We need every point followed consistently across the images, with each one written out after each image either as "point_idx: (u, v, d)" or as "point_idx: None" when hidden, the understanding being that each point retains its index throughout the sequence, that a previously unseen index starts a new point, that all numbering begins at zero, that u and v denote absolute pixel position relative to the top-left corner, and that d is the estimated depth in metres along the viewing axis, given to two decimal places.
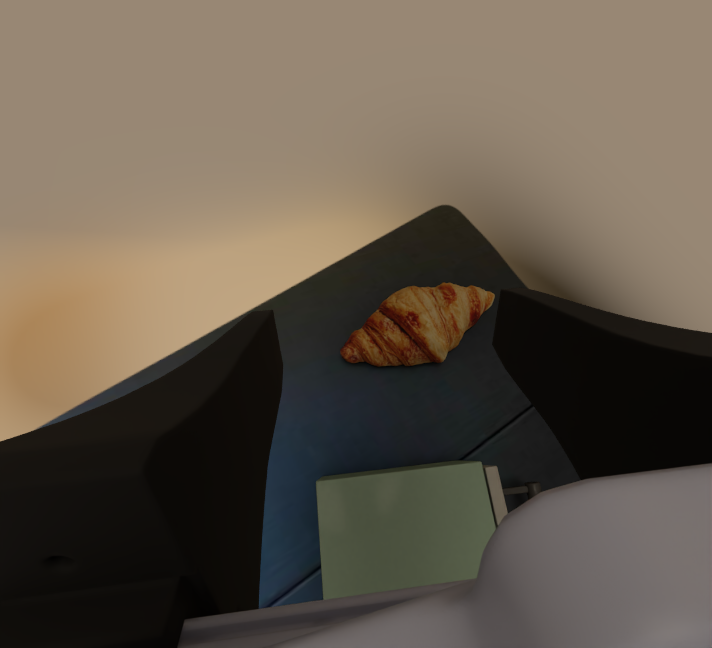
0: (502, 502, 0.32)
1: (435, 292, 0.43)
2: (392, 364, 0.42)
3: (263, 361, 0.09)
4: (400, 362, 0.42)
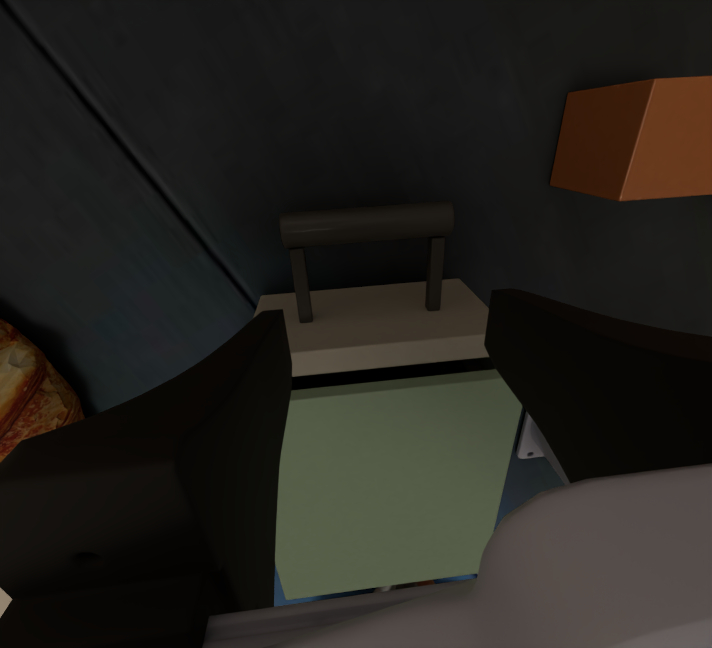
0: (318, 356, 0.14)
1: None
2: None
3: (275, 361, 0.09)
4: None
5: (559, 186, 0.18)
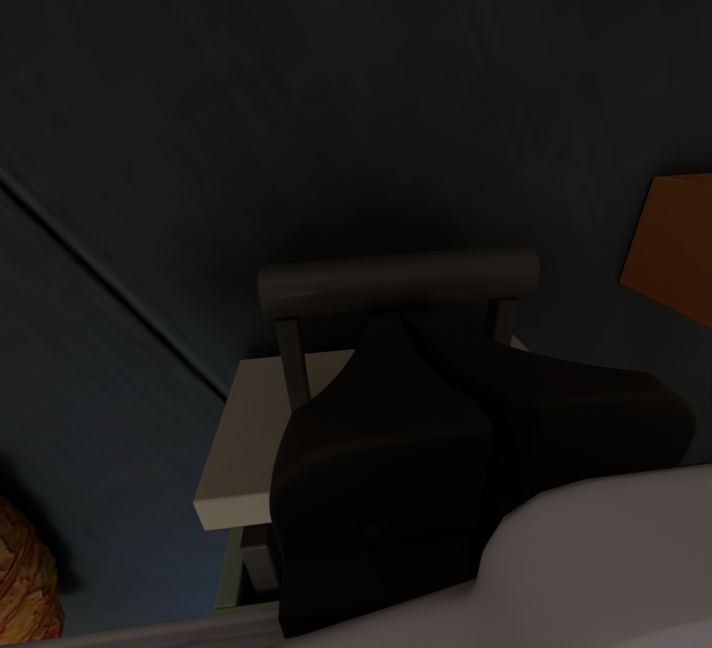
0: None
1: None
2: (33, 579, 0.17)
3: None
4: (19, 571, 0.17)
5: (635, 289, 0.14)
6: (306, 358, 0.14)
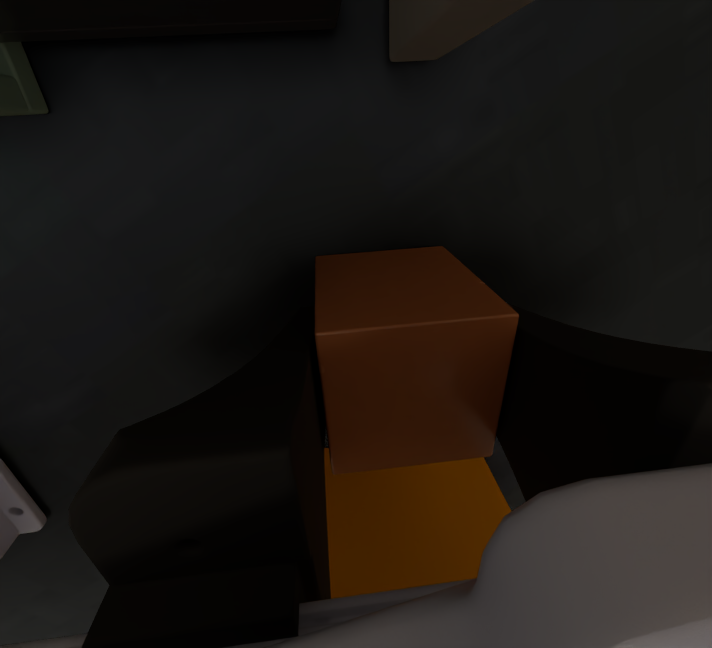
0: None
1: None
2: None
3: None
4: None
5: (317, 265, 0.10)
6: None
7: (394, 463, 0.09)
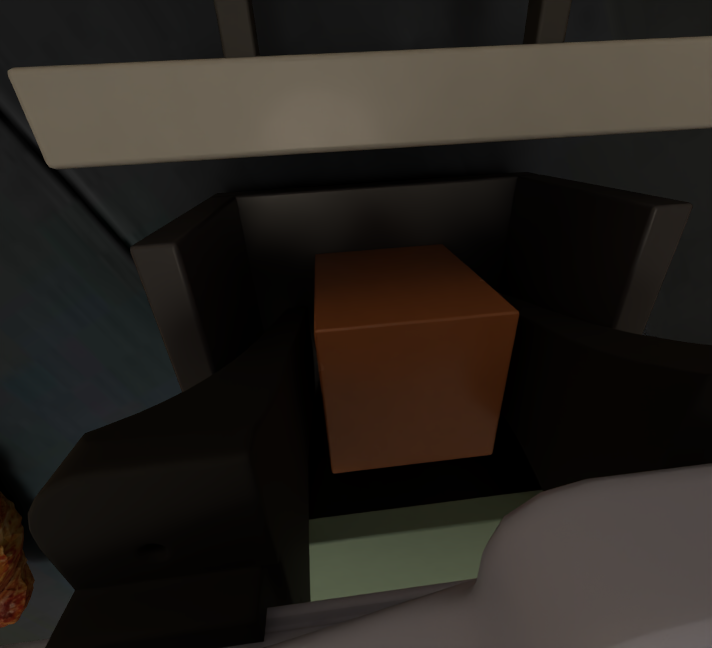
0: (254, 81, 0.05)
1: None
2: None
3: (303, 358, 0.09)
4: None
5: (316, 263, 0.10)
6: None
7: (394, 462, 0.09)
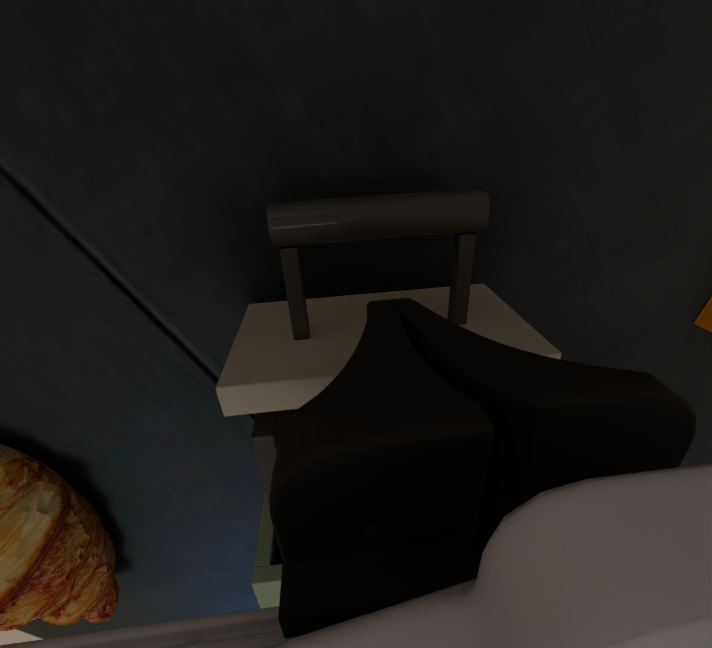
0: (316, 385, 0.11)
1: None
2: (100, 556, 0.22)
3: None
4: (91, 549, 0.21)
5: None
6: (305, 302, 0.16)
7: None
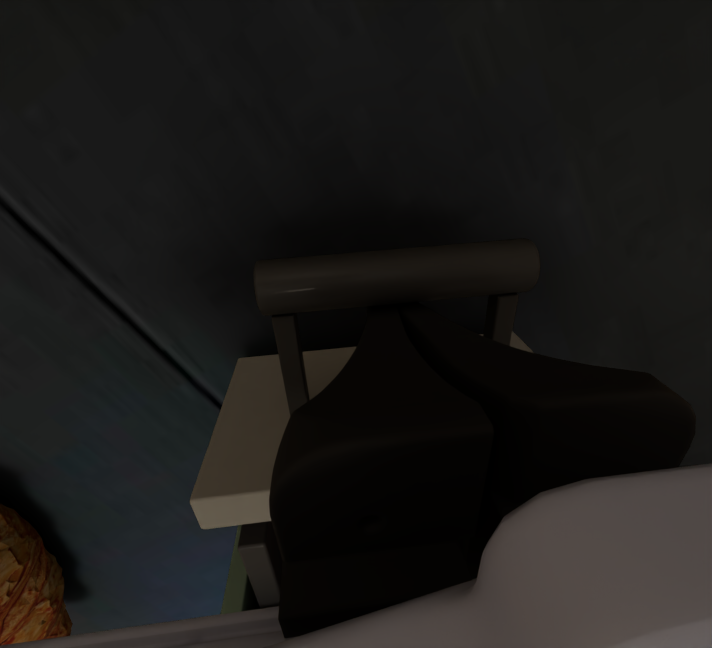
0: None
1: None
2: (41, 589, 0.18)
3: None
4: (27, 582, 0.17)
5: None
6: (304, 356, 0.14)
7: None
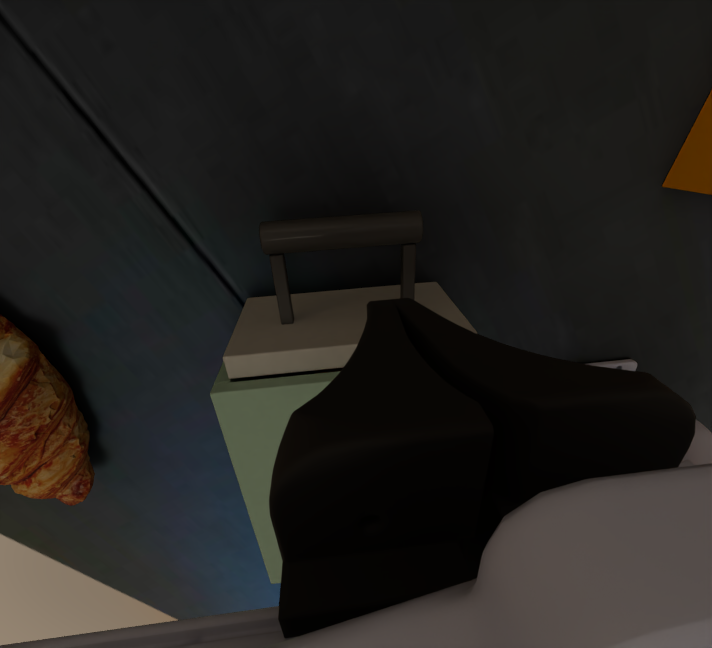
0: (296, 355, 0.15)
1: None
2: (72, 428, 0.22)
3: None
4: (62, 418, 0.21)
5: (316, 372, 0.21)
6: (292, 296, 0.20)
7: None
